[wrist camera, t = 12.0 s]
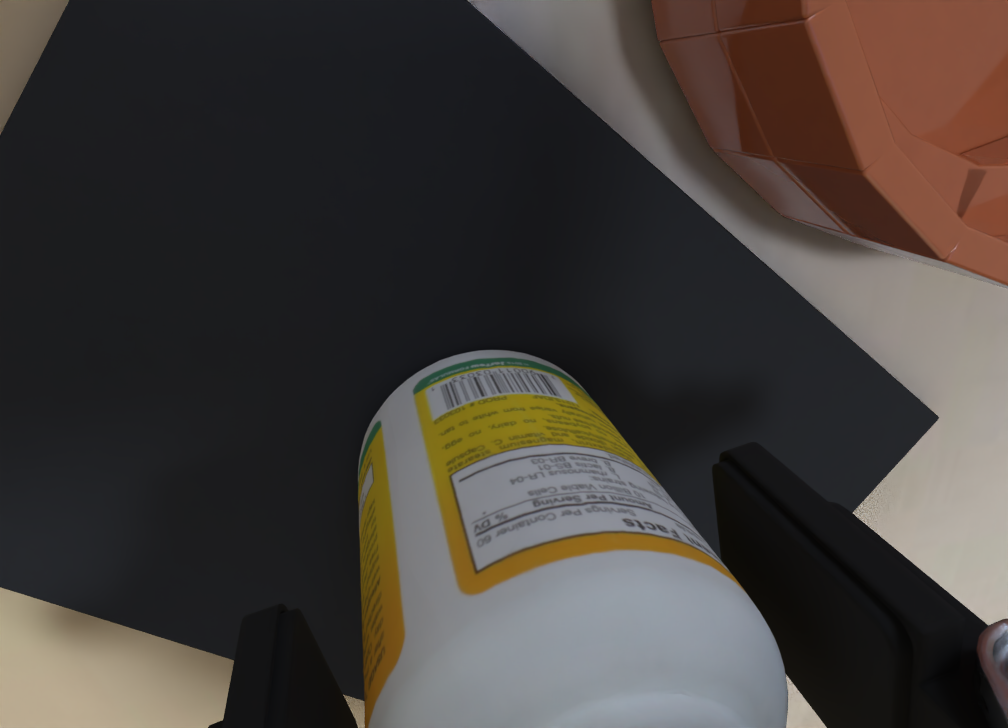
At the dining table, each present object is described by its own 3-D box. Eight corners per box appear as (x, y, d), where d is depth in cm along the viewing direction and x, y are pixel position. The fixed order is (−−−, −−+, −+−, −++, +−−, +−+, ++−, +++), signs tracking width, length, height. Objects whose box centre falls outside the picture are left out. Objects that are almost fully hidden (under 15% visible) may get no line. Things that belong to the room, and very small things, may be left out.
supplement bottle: (490, 289, 13) (813, 717, 4) (641, 447, 15) (1052, 933, 6) (298, 471, 13) (218, 1192, 5) (472, 596, 15) (639, 1231, 7)
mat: (-185, 512, 12) (-202, 525, 11) (198, -230, 9) (192, -243, 9) (604, 766, 20) (609, 778, 19) (927, 411, 17) (940, 417, 17)
